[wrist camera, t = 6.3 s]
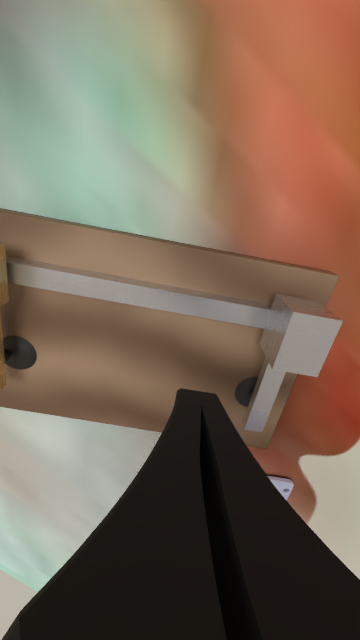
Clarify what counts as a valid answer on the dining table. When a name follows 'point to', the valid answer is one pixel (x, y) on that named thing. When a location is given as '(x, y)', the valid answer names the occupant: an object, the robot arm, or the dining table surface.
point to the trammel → (276, 319)
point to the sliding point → (3, 354)
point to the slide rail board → (137, 328)
